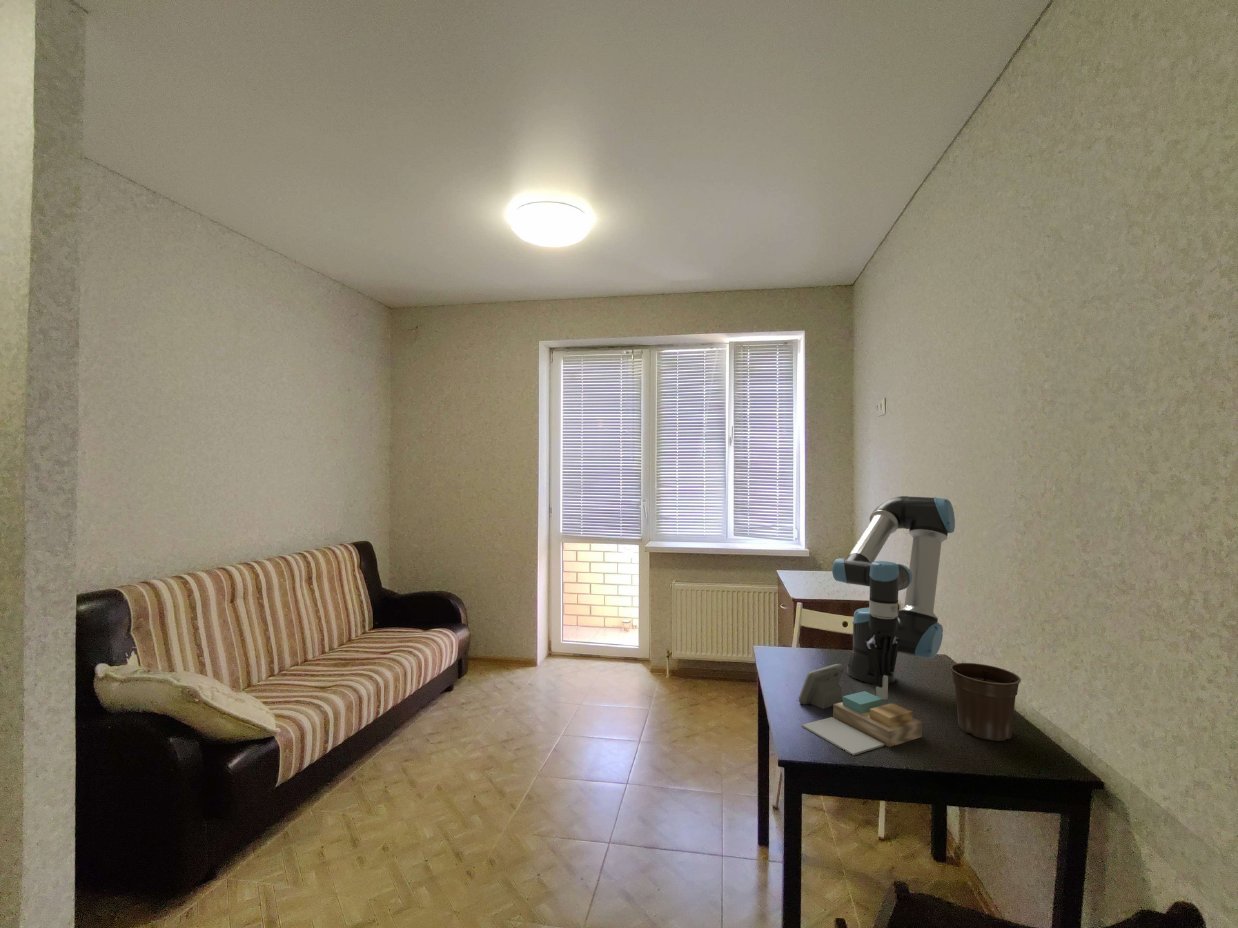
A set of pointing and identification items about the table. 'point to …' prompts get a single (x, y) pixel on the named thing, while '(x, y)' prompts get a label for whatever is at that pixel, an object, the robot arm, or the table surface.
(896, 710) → the ochre tile
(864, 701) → the teal tile
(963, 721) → the plant pot
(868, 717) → the platform
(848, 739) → the mat
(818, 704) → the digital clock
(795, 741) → the table surface
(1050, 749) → the table surface
